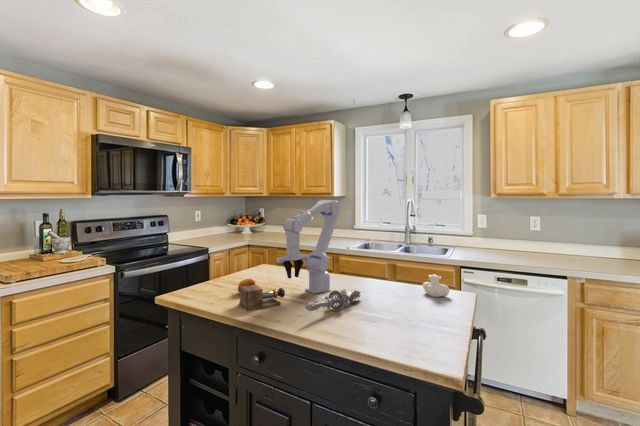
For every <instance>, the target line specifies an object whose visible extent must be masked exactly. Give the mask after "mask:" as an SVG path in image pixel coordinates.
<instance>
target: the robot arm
mask: <svg viewBox="0 0 640 426" xmlns="http://www.w3.org/2000/svg"><path fill="white" fill-rule="evenodd" d="M340 211H341V205H340V203H339V201H338V200H337V199H332V200H331V199H329V200H328V199H320V200H318V201H317V202H316V204H315V205H313V206H312V207H311V208H310V209H308V210H301V211H299V213H298V214H297V215H294V216H293V217H292V218H287V219H286V220H285V221H284V224H283V226H282V227H283V230H284V233H285V234H284V235H285V238H286V239H285V240H286V241H285V243H286V245H285V247H286V250H285V251H286V255H285V256H281V257H280V256H279V257H276V263H277V264H281V263H282V265H283V267H284V269H285V271H286V272H285V273H286V275H287V276H286V277H287V279H291V280H292V266H293V265H294V267H293V268H294V277H295V278H299V275H300V271H301V269H302V267H303V266H304V265H305V268H306V270H307V272H308V287H306V288H305V290H306V291H308V292H310V293H311V294H314V295H315V294H318V293H319V294H320V293H326V292H330V291H331V289H330V285H331V284H330V282H331V281H330V279H331V278H330V277H331V276H330V274H329V272H328V267H329V260H330V258H329V257H328V254H327V251H328V248H329V245H330V241H331V239H332V237H333V233H334V230H335V227H336V223H337V220H338V216H339V213H340ZM318 214H320V216H321V217H322V218H323V219H324V223H323V225H322V229H321V231H320V235H319V237H318V241H317V243H316V245H315V249H314V250H313V251H312V252H310V253H309V255H308V254H300V253H301V252H300V241H301V239H300V236H301V235H300V233H301V232H302V230H303V228H304V227H305V226H306V225H308V224H309V223H310V222H311V221H312V219H313V217H315V216H317V215H318ZM304 261H305V264H304ZM291 262H293V263H291Z"/></svg>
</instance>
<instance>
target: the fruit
mask: <svg viewBox="0 0 640 426" xmlns="http://www.w3.org/2000/svg"><path fill="white" fill-rule="evenodd" d="M250 285H256V281H255V280H254V279H253V278H250V277H249V278H245V279H242V280H240V281H239V284H238V287H237V290H238V293H240V287H243V286H250Z"/></svg>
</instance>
